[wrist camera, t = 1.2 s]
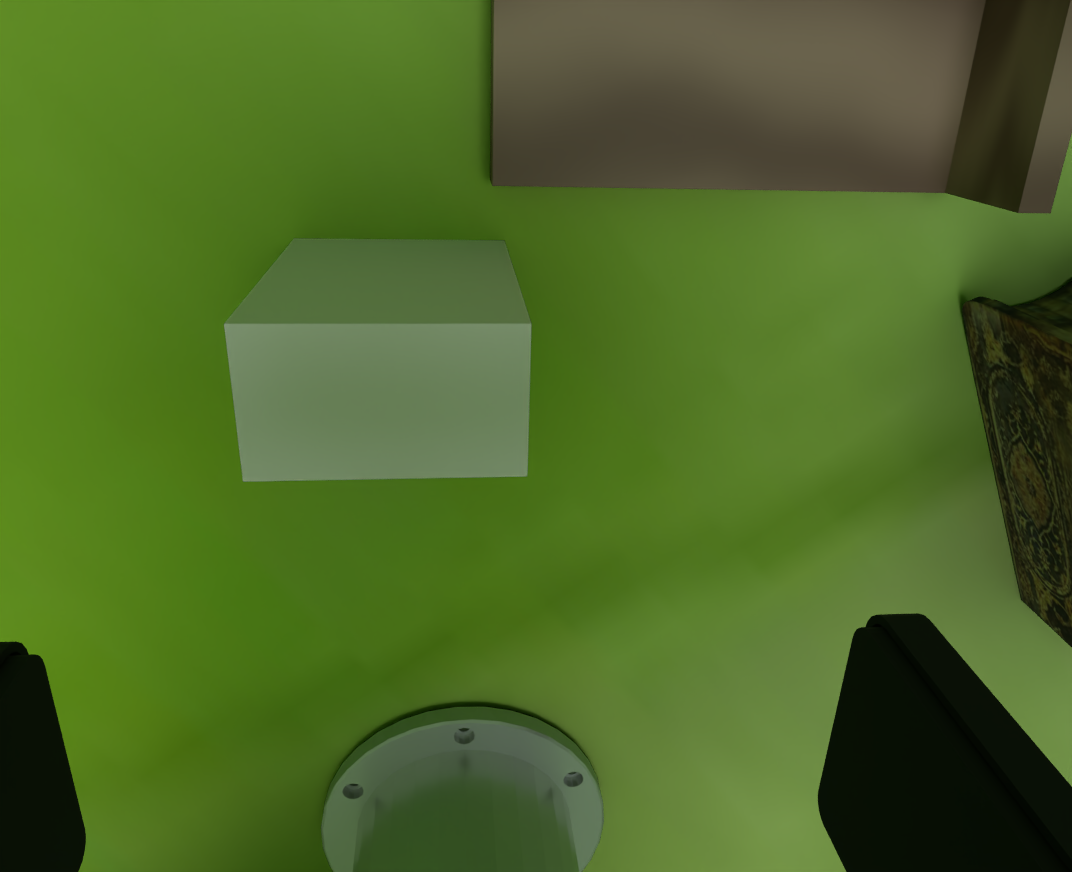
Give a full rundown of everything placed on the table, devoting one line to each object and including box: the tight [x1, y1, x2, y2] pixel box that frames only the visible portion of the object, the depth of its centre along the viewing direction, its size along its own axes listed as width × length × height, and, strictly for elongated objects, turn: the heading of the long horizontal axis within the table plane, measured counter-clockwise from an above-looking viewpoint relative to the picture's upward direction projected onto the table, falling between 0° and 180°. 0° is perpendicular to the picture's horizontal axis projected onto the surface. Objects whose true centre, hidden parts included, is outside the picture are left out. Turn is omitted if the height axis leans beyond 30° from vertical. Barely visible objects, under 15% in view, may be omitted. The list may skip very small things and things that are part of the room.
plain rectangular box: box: [224, 238, 531, 482], centre depth 25 cm, size 4×7×10 cm, turn 88°
